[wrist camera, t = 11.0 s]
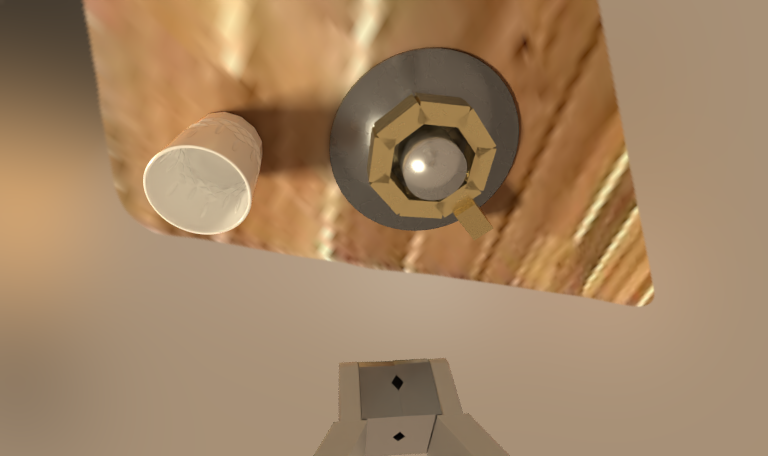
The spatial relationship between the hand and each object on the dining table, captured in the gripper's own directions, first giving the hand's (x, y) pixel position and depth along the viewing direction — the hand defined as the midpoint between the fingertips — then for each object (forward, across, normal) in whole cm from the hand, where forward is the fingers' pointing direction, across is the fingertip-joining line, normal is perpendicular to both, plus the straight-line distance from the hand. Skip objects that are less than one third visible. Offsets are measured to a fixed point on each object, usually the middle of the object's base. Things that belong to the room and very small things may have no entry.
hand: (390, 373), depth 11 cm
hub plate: (+31, -8, +6) cm, 33 cm away
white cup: (+31, +12, +6) cm, 34 cm away
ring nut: (+30, -9, +8) cm, 32 cm away
